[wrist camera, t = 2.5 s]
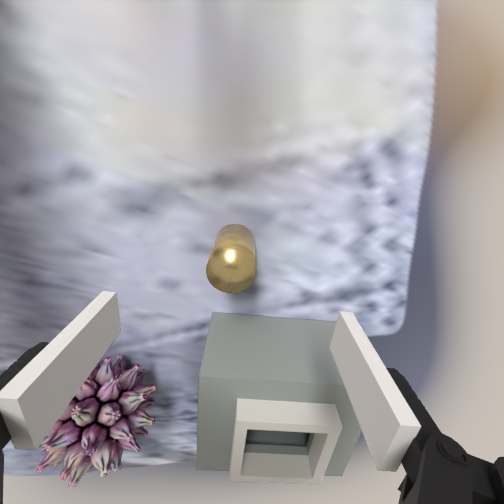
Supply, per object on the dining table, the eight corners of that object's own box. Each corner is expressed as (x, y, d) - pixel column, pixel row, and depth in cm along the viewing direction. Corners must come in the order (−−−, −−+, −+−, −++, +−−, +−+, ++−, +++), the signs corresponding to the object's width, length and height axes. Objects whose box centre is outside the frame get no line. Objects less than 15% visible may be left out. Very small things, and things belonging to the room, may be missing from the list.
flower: (183, 351, 32) (149, 460, 21) (153, 408, 36) (111, 523, 25) (91, 318, 30) (-1, 420, 19) (70, 383, 34) (-14, 497, 23)
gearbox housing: (208, 394, 35) (192, 493, 25) (212, 312, 29) (194, 397, 20) (321, 401, 36) (348, 499, 26) (345, 322, 30) (392, 409, 20)
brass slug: (215, 258, 27) (205, 291, 21) (216, 222, 25) (206, 246, 19) (252, 261, 27) (253, 295, 21) (256, 226, 25) (258, 251, 19)
